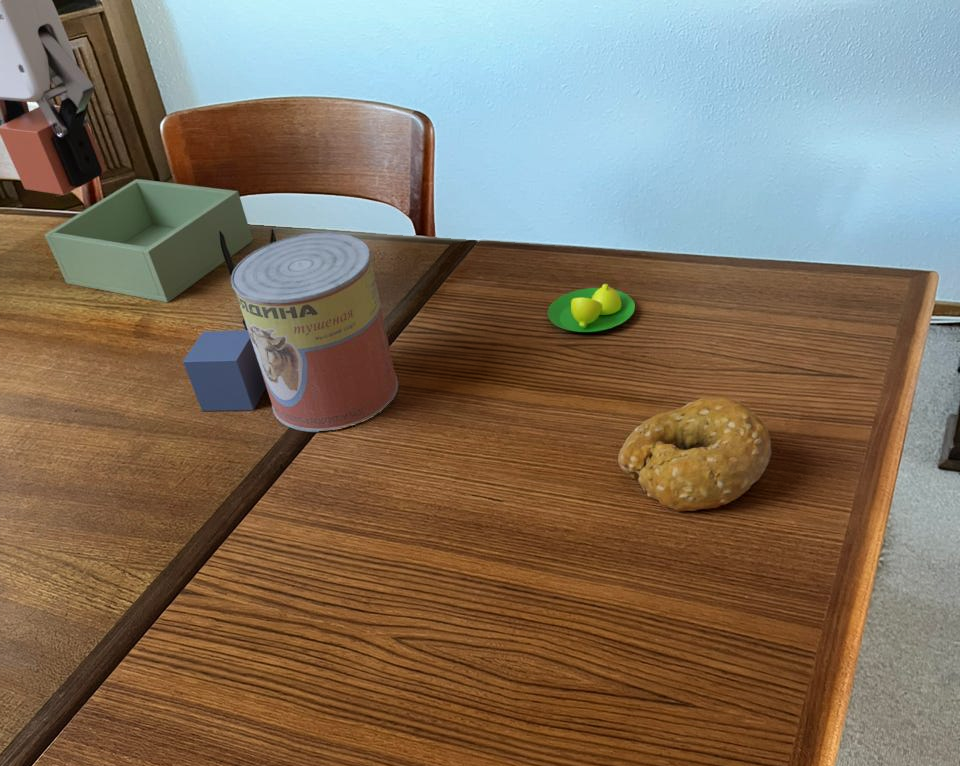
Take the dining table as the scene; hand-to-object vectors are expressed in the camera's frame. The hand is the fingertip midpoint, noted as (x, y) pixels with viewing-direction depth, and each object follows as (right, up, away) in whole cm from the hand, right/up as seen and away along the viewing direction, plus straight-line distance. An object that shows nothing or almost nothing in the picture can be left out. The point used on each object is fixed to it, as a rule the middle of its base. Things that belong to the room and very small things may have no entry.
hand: (63, 175), depth 83 cm
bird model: (+14, -8, +14) cm, 22 cm away
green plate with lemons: (+46, -10, +7) cm, 48 cm away
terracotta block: (0, 0, 0) cm, 0 cm away
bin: (0, +3, +26) cm, 27 cm away
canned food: (+23, -18, +3) cm, 29 cm away
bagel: (+51, -28, -11) cm, 59 cm away
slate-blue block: (+14, -18, +5) cm, 23 cm away
